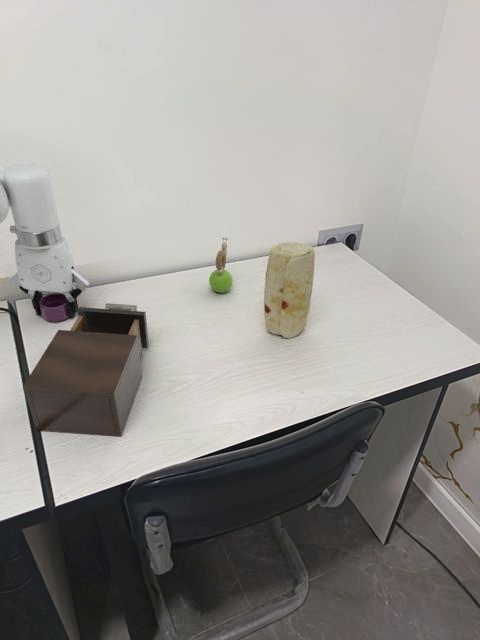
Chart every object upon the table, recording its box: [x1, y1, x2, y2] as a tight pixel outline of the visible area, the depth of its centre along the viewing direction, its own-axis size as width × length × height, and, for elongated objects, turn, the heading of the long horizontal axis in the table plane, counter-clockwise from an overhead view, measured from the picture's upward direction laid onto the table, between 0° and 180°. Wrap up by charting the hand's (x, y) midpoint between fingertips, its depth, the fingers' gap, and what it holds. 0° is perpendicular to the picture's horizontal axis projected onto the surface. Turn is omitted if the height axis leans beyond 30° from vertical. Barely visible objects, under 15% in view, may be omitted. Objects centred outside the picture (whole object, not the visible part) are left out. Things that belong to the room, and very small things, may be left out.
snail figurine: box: [208, 236, 234, 294], centre depth 113 cm, size 5×6×12 cm
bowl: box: [39, 292, 70, 323], centre depth 104 cm, size 6×6×4 cm
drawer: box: [69, 302, 150, 357], centre depth 92 cm, size 19×12×8 cm, turn 178°
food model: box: [263, 241, 316, 339], centre depth 99 cm, size 10×7×20 cm
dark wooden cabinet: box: [22, 329, 143, 438], centre depth 82 cm, size 15×14×10 cm
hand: (57, 312), depth 104 cm, fingers closed on bowl, 6 cm apart
